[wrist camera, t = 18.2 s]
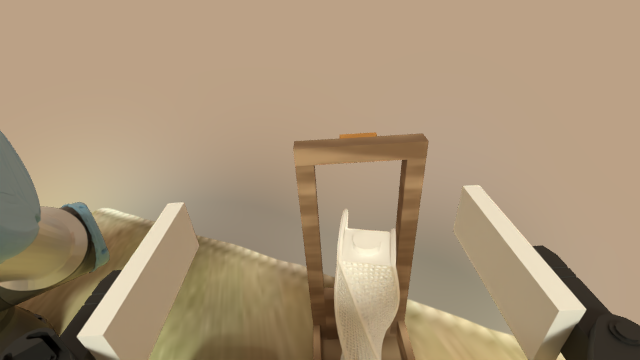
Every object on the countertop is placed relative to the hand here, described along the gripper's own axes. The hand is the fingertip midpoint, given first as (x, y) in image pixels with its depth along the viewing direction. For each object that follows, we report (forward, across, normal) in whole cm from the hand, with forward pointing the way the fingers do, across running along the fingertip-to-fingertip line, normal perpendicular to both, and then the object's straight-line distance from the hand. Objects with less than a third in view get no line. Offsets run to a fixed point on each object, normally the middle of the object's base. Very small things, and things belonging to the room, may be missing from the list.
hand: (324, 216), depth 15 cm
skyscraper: (+11, +4, -39) cm, 40 cm away
